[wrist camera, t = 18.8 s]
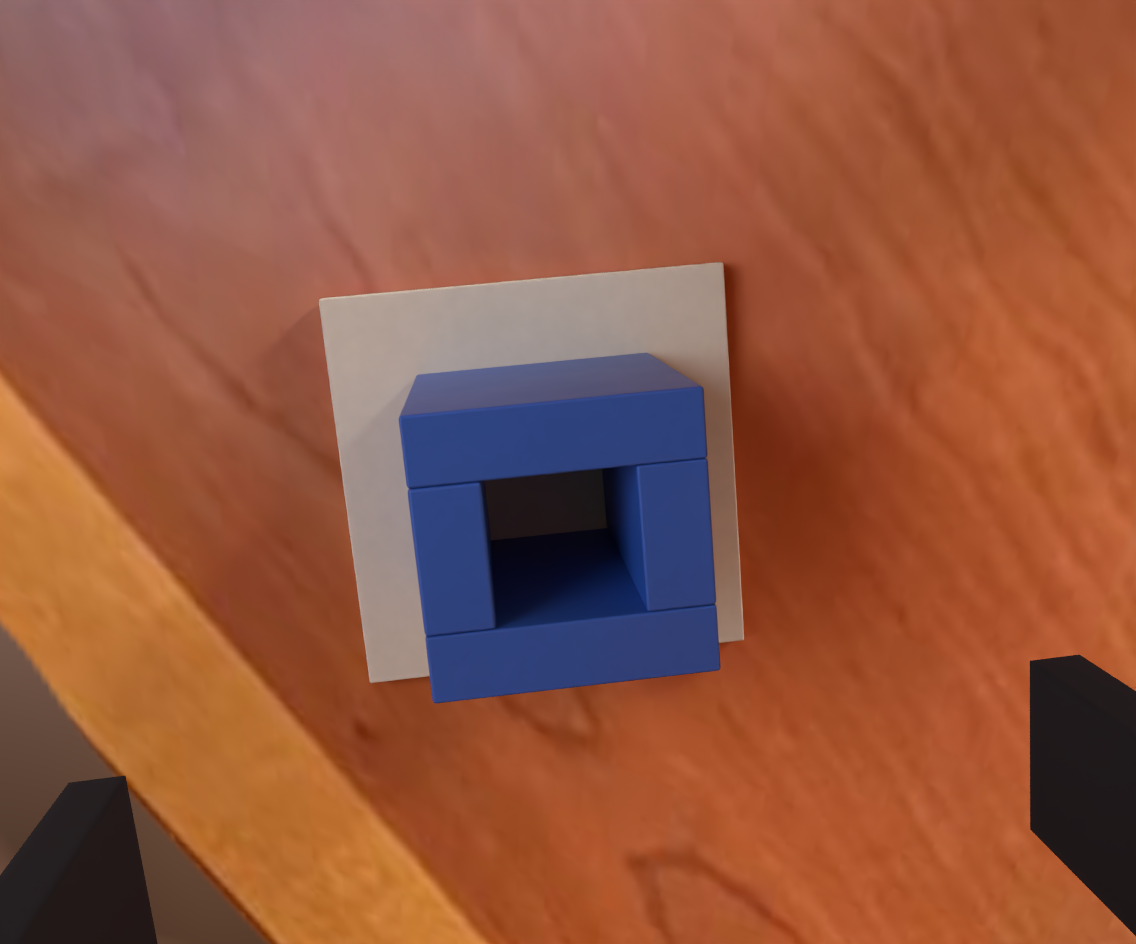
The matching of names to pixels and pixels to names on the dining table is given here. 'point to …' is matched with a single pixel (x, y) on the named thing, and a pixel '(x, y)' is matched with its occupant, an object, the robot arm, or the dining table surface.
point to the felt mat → (494, 339)
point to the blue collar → (572, 559)
